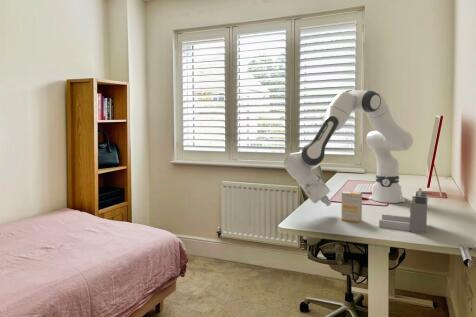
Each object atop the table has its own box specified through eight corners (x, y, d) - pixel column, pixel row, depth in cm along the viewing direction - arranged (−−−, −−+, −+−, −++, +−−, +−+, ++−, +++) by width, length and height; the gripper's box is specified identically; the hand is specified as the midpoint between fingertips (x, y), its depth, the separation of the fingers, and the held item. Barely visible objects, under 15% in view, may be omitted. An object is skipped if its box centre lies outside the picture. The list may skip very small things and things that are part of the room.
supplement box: (361, 220, 170) (362, 191, 169) (359, 222, 166) (360, 193, 165) (343, 217, 175) (344, 190, 173) (340, 220, 171) (341, 192, 169)
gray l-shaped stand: (382, 219, 171) (383, 184, 169) (426, 224, 163) (428, 188, 161) (378, 227, 159) (379, 190, 157) (425, 233, 150) (427, 194, 148)
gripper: (307, 181, 167) (329, 205, 164) (320, 175, 185) (339, 196, 182) (298, 190, 170) (319, 214, 167) (311, 183, 188) (330, 204, 185)
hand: (329, 204), depth 174 cm, fingers closed
